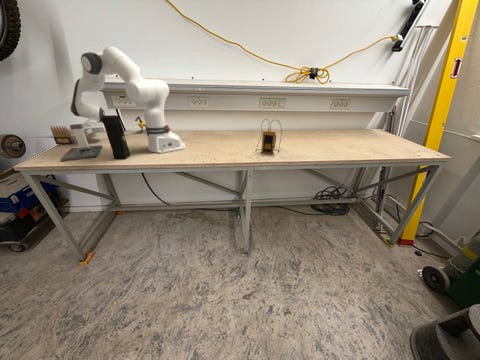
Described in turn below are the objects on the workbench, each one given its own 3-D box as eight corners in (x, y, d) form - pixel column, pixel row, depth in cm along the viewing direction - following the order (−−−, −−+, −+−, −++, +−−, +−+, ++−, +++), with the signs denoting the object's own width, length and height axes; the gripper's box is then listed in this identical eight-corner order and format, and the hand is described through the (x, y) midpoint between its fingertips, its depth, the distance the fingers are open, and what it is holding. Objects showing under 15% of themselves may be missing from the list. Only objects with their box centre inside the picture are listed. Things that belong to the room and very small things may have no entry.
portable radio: (133, 155, 113) (120, 110, 101) (128, 159, 108) (114, 112, 96) (119, 155, 113) (105, 110, 101) (113, 159, 108) (98, 112, 96)
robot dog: (135, 135, 147) (130, 117, 140) (147, 129, 162) (143, 113, 156) (142, 136, 146) (138, 117, 140) (153, 130, 162) (150, 113, 156)
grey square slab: (102, 147, 124) (102, 145, 123) (96, 157, 109) (95, 155, 109) (72, 150, 119) (71, 148, 118) (61, 161, 104) (60, 159, 103)
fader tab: (90, 146, 120) (82, 123, 113) (89, 148, 116) (80, 125, 110) (81, 147, 118) (71, 124, 111) (79, 149, 115) (69, 125, 108)
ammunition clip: (74, 143, 130) (67, 125, 124) (72, 144, 128) (65, 126, 123) (58, 143, 130) (50, 125, 124) (56, 144, 128) (47, 126, 122)
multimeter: (279, 148, 126) (283, 116, 117) (279, 154, 118) (283, 120, 108) (257, 146, 129) (259, 115, 119) (255, 152, 120) (256, 118, 111)
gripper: (70, 123, 127) (62, 129, 116) (106, 121, 134) (102, 126, 123) (74, 133, 131) (66, 139, 119) (109, 130, 137) (105, 136, 126)
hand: (85, 132), depth 121 cm, fingers closed
